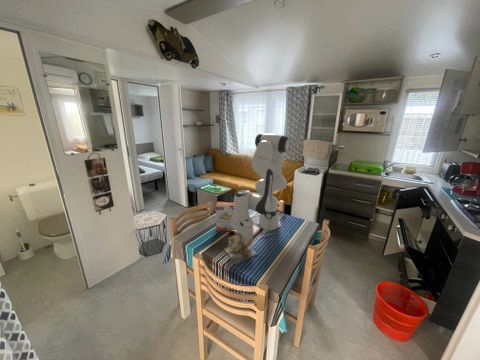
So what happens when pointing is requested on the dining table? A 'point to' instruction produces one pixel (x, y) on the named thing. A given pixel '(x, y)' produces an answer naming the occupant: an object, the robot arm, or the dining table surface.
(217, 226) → the cracker box
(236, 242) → the beige irregular flat piece
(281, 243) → the dining table surface
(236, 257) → the jig
